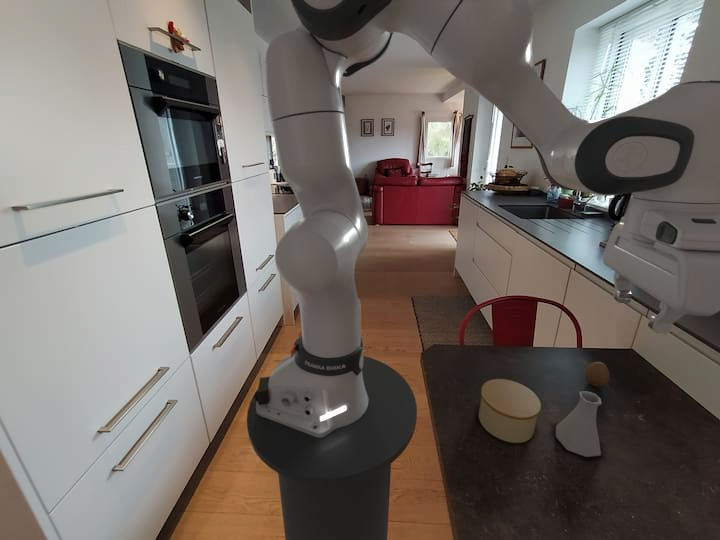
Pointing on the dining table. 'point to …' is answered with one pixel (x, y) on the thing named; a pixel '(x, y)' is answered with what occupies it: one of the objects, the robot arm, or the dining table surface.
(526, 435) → the tea tin
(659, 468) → the dining table surface
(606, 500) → the dining table surface
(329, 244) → the robot arm
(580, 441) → the flask
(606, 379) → the egg
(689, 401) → the dining table surface
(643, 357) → the dining table surface
